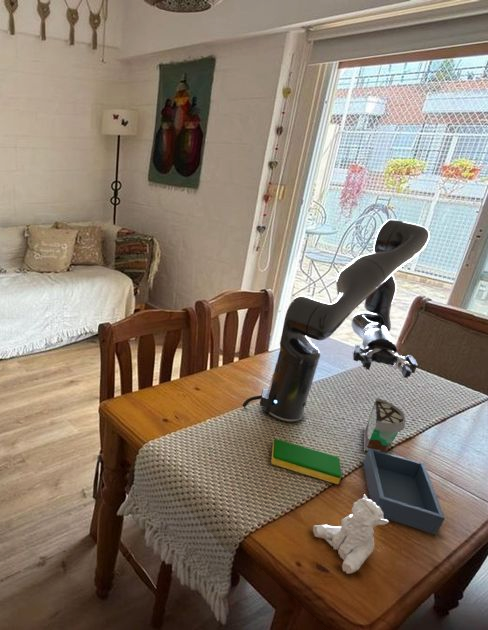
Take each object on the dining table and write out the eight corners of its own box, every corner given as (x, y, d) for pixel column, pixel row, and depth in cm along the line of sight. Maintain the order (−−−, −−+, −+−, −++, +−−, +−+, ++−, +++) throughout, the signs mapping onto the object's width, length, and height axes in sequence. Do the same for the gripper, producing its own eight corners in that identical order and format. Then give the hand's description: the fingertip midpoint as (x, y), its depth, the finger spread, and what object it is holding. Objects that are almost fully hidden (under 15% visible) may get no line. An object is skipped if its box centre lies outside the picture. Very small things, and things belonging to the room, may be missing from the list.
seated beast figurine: (308, 531, 85) (325, 484, 80) (345, 523, 87) (364, 478, 82) (347, 576, 77) (368, 528, 72) (386, 567, 79) (410, 519, 74)
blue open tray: (372, 514, 90) (380, 498, 88) (362, 462, 103) (368, 447, 101) (436, 534, 85) (445, 518, 84) (417, 478, 99) (424, 463, 97)
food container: (394, 466, 103) (409, 432, 98) (364, 455, 105) (377, 422, 101) (392, 437, 112) (405, 405, 108) (364, 428, 115) (376, 396, 111)
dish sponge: (272, 445, 108) (274, 437, 107) (336, 464, 102) (339, 456, 101) (271, 464, 102) (273, 456, 101) (338, 485, 96) (341, 476, 96)
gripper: (354, 328, 130) (360, 351, 116) (412, 338, 124) (425, 365, 111) (346, 350, 133) (352, 375, 119) (403, 361, 127) (415, 389, 114)
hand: (387, 370), depth 115 cm, fingers open, 8 cm apart
